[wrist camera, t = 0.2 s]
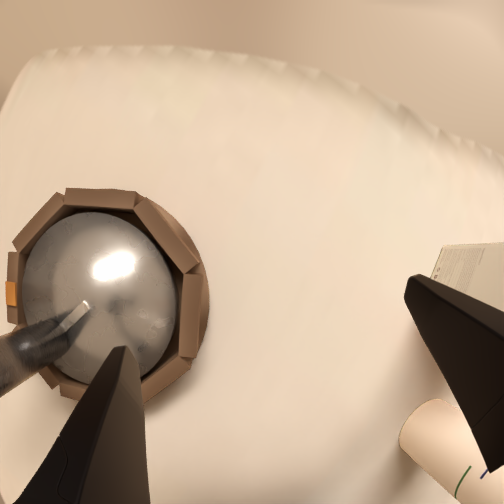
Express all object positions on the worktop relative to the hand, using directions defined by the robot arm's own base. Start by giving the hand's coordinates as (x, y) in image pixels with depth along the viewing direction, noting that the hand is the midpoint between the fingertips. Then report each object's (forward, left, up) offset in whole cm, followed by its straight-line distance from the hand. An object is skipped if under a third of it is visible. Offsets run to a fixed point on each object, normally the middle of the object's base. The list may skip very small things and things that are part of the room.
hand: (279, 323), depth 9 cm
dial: (+6, +9, -14) cm, 17 cm away
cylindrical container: (-26, -5, -15) cm, 30 cm away
